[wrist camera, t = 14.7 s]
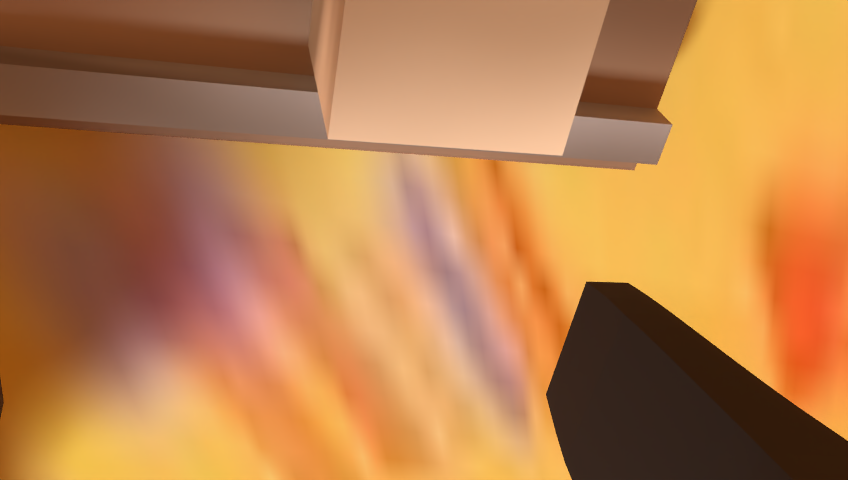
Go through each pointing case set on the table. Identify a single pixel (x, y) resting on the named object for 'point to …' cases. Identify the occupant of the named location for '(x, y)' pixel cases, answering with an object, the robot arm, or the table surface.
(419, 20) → the block
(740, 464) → the robot arm
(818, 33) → the table surface
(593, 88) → the walnut board
